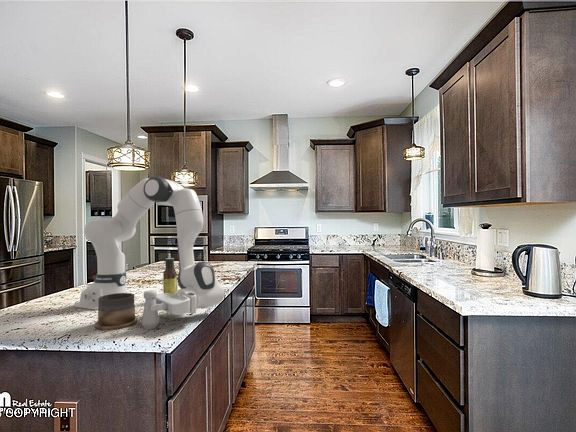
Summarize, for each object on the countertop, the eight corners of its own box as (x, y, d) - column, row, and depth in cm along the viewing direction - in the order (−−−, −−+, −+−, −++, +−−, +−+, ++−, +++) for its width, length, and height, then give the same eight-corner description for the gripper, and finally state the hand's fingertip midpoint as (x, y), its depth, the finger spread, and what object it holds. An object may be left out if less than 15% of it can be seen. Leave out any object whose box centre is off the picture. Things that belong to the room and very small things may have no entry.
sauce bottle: (179, 300, 156) (179, 258, 156) (167, 302, 152) (167, 259, 152) (173, 298, 161) (173, 257, 161) (160, 300, 156) (160, 258, 156)
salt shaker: (144, 325, 119) (144, 289, 119) (161, 325, 119) (161, 289, 119) (138, 330, 113) (138, 292, 113) (156, 330, 113) (156, 292, 114)
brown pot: (85, 328, 115) (85, 300, 116) (113, 317, 129) (113, 291, 129) (120, 331, 113) (120, 301, 113) (145, 319, 126) (145, 293, 126)
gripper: (172, 287, 133) (137, 293, 123) (197, 296, 118) (159, 303, 108) (172, 303, 132) (137, 310, 123) (197, 313, 118) (159, 322, 108)
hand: (147, 306), depth 115 cm, fingers closed on salt shaker, 3 cm apart
